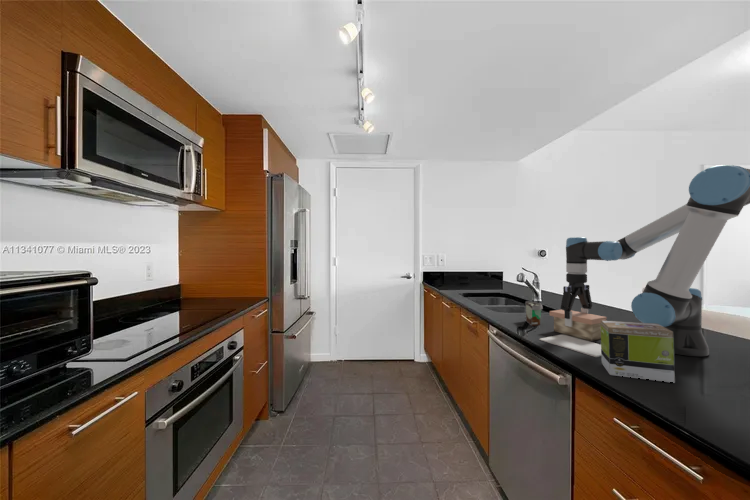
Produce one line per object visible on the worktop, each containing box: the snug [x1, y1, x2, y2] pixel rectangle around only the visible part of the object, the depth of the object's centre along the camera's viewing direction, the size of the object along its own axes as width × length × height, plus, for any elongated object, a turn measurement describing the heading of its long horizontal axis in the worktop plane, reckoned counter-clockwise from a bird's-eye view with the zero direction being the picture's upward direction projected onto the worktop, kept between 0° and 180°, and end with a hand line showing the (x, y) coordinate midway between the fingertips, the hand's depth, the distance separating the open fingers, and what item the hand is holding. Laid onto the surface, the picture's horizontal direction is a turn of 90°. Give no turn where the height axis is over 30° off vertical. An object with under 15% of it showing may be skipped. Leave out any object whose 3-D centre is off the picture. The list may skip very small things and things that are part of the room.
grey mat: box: [539, 333, 601, 358], centre depth 119 cm, size 22×14×1 cm, turn 24°
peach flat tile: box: [549, 308, 608, 325], centre depth 132 cm, size 18×10×3 cm, turn 24°
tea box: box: [600, 320, 676, 384], centre depth 93 cm, size 15×10×15 cm, turn 65°
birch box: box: [553, 316, 601, 342], centre depth 132 cm, size 16×7×7 cm, turn 24°
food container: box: [525, 300, 544, 327], centre depth 152 cm, size 12×6×10 cm, turn 168°
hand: (576, 324), depth 132 cm, fingers closed on peach flat tile, 10 cm apart
